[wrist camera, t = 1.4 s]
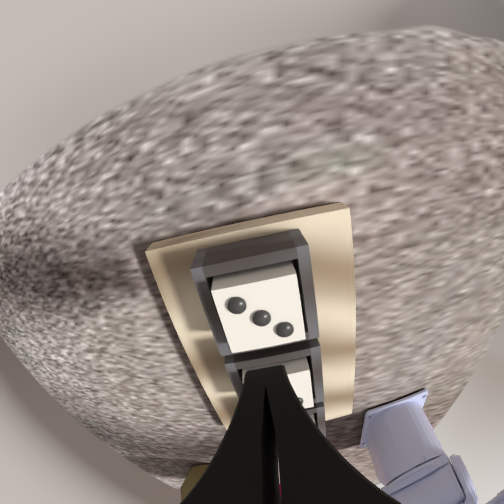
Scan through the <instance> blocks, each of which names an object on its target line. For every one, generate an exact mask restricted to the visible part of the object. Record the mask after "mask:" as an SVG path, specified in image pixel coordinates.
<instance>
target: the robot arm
mask: <svg viewBox="0 0 504 504" xmlns="http://www.w3.org/2000/svg"><path fill="white" fill-rule="evenodd" d="M427 395H428V390H427V389H424V390H422V391H419V392H417V393H415V394H412V395H410V396H407V397H405V398H402V399H400V400H397V401H394V402H392V403H389V404H386V405H383V406H380V407H377V408H374V409H371V410H368V411H367V412H366V413H365V417H364V423H363V429H362V434H361V440H360V445H359V446H360V448H364V447H368V450H369V453H370V456H371V459H372V462H373V465H374V468H375V471H376V474H377V477H378V479H379V481H380V482H381V483H382V484H383V485H384V486H385V487H383V488H381V489H380V488H378V487H377V486H376V485H374V484H373V483H372V482H370V481H369V480H368V479H367V478H365V477H364V476H363V475H362V474H361V473H360V472H359V471H358V470H357V469H355V468H354V467H353V466H352V465H351V464H350V463H349V462H348V461H347V460H346V459H345V458H344V457H343V456H342V455H341V454H340V453H339V452H338V451H337V450H336V449H335V448H334V447H333V445H332V444H331V443H330V442H329V441H328V440H327V439H326V437H325V436H324V435H323V434H322V432H321V431H320V430H319V428H318V427H317V426H316V424H315V423H314V422H313V420H312V419H311V417H310V416H309V414H308V413H307V411H306V410H305V408H304V407H303V405H302V403H301V402H300V400H299V398H298V397H297V395H296V393H295V391H294V389H293V387H292V385H291V383H290V381H289V378H288V376H287V373H286V369H285V366H283V365H276V366H271V367H266V368H260V369H254V370H248V371H247V372H246V373H245V377H244V382H243V386H242V390H241V394H240V397H239V400H238V403H237V406H236V409H235V412H234V414H233V417H232V420H231V422H230V425H229V427H228V429H227V431H226V434H225V436H224V438H223V440H222V442H221V444H220V446H219V448H218V450H217V452H216V454H215V456H214V457H213V459H212V461H211V462H210V464H209V466H208V467H207V469H206V470H205V472H204V473H203V475H202V476H201V478H200V479H199V481H198V482H197V483H196V485H195V486H194V487H193V489H192V490H191V491H190V492H189V494H188V495H187V496H186V497H185V498H184V500H183V501H182V502H181V503H180V504H462V503H463V504H478V503H479V500H478V497H477V495H476V492H475V491H476V489H475V487H474V484H473V482H472V480H471V478H470V475H469V473H468V471H467V469H466V467H465V465H464V463H463V461H462V459H461V457H460V456H457V455H456V456H455V455H452V456H451V457H450V460H451V462H452V464H451V462H450V460H449V458H448V457H447V455H446V454H445V452H444V450H443V448H442V446H441V444H440V442H439V440H438V438H437V436H436V434H435V432H434V430H433V428H432V426H431V424H430V422H429V420H428V418H427V417H426V415H425V413H424V411H423V409H422V407H423V405H424V402H425V400H426V397H427ZM278 458H279V471H280V485H281V493H280V486H279V475H278ZM465 495H466V496H465ZM486 504H504V490H502V491H501V492H500V493H498V494H497V496H496V497H495V498H493V499H492V500H490V501H489V502H488V503H486Z"/></svg>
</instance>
